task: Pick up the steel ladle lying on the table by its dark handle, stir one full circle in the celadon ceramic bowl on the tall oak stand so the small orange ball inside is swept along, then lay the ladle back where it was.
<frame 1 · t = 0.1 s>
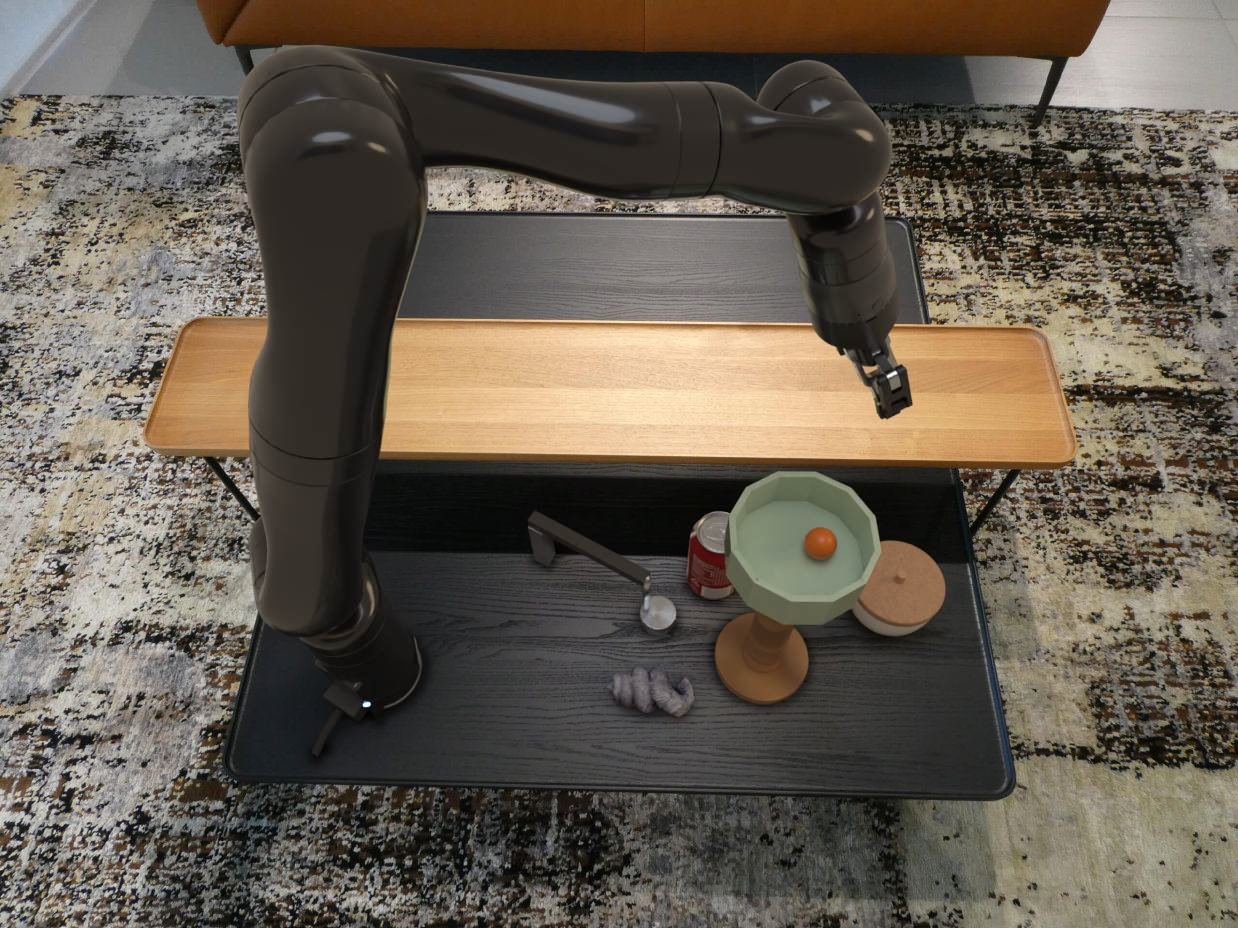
hand: (868, 380, 84), 31 cm above the table, tool tilted 20°, fingers open, 8 cm apart
stand: (760, 658, 101), on the table
trinket box: (881, 608, 104), on the table
soda can: (712, 578, 107), on the table
ladle: (657, 618, 104), on the table
ball: (820, 543, 78), point 28 cm above the table, touching bowl
seashell: (650, 697, 98), on the table
bowl: (795, 558, 79), resting on stand
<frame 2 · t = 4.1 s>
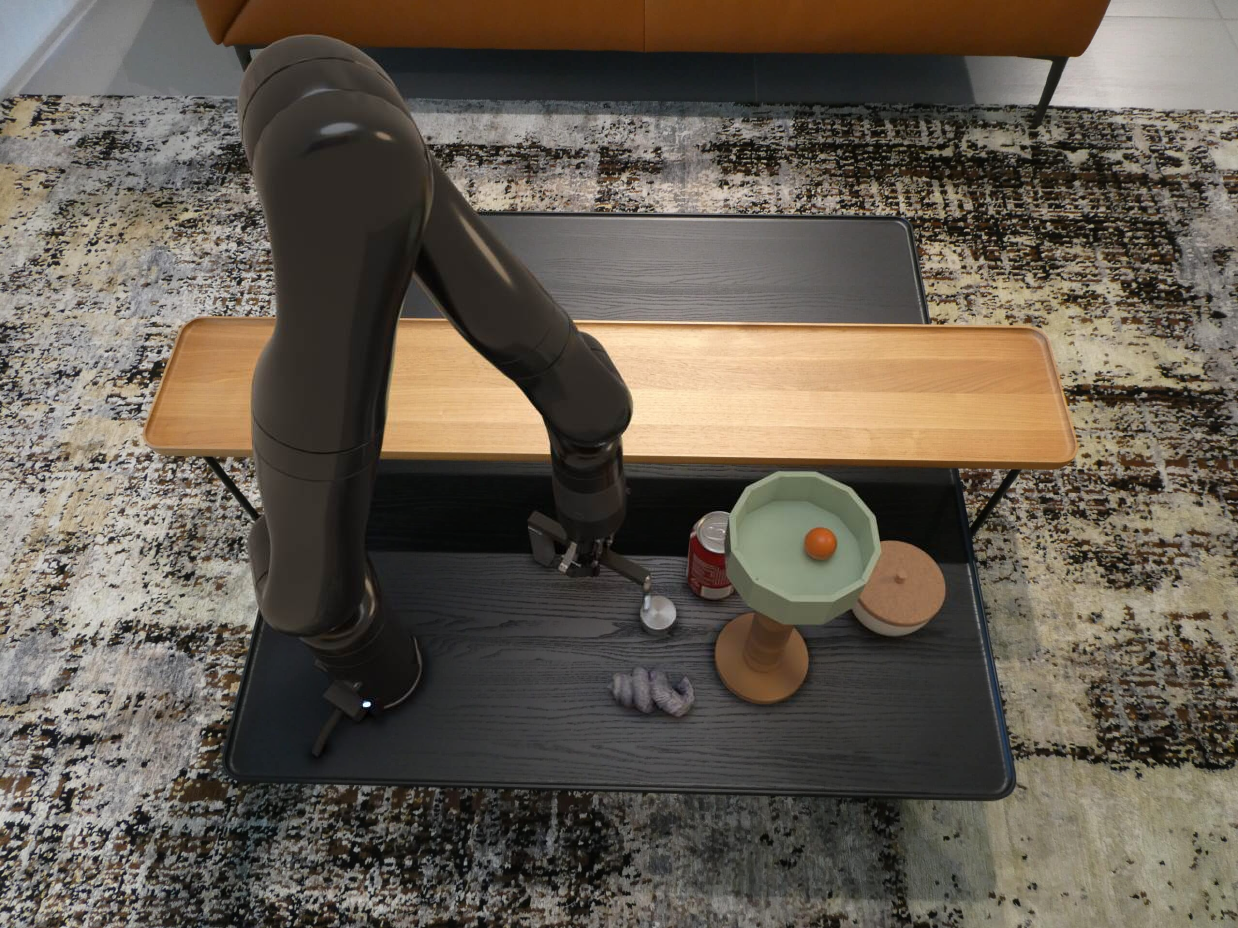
hand: (596, 564, 101), 6 cm above the table, tool pointing down, fingers closed on ladle
ladle: (657, 618, 104), on the table, touching gripper
everything else where it was.
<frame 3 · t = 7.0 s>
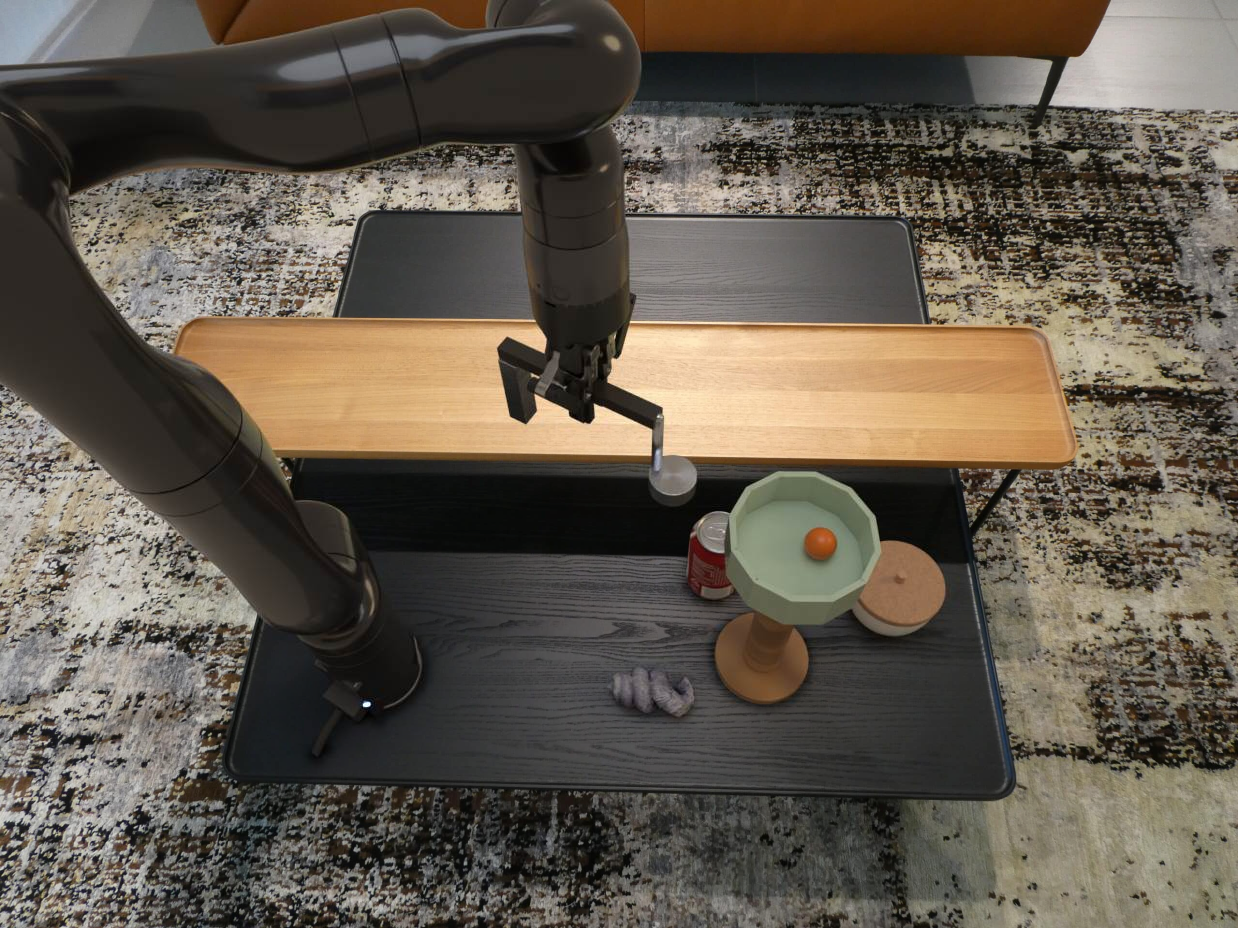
hand: (589, 409, 75), 37 cm above the table, tool pointing down, fingers closed on ladle
ladle: (672, 486, 78), point 31 cm above the table, touching gripper
everything else where it was.
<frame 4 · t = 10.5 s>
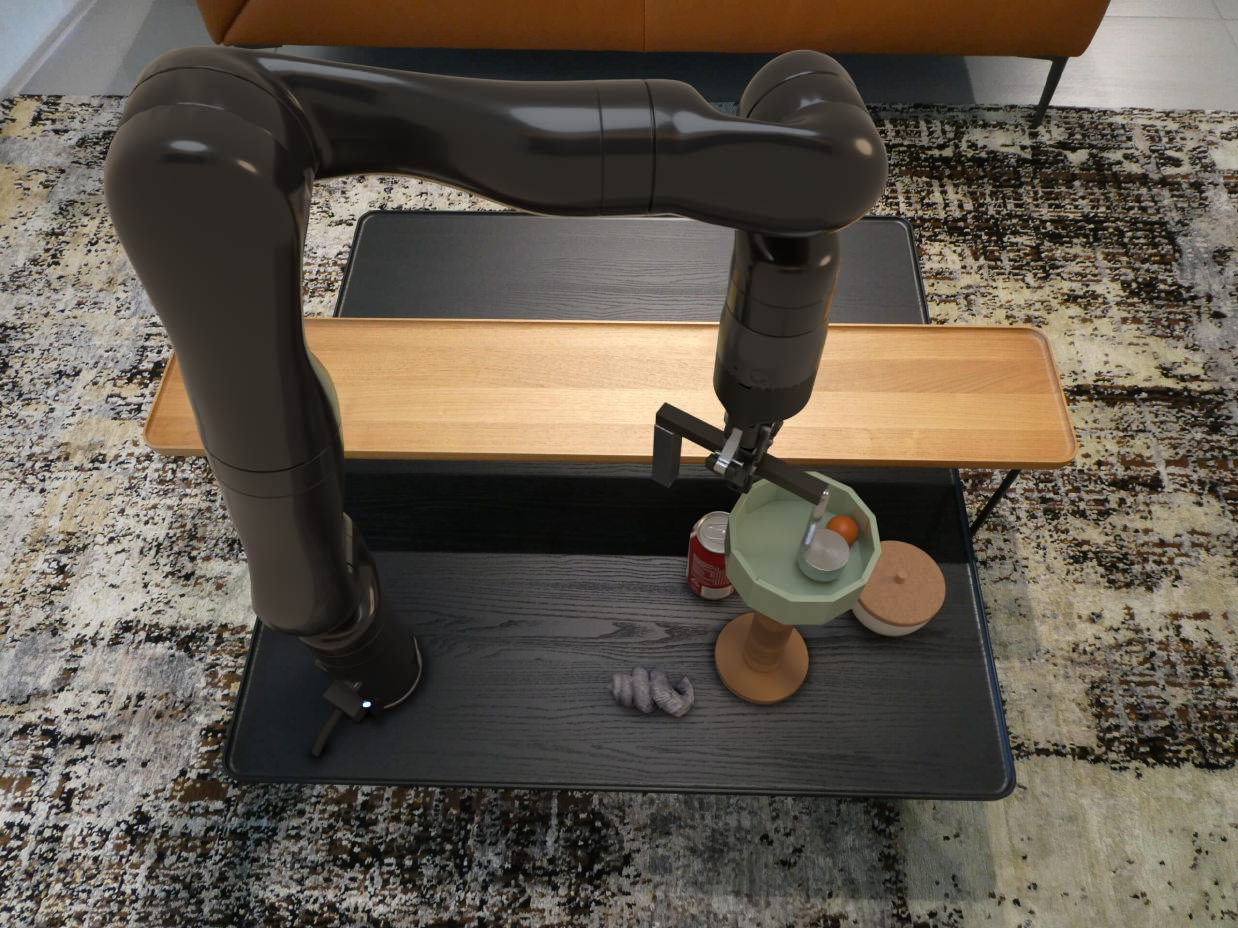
hand: (744, 478, 75), 34 cm above the table, tool pointing down, fingers closed on ladle
ladle: (820, 559, 77), point 28 cm above the table, touching ball, gripper
ball: (841, 531, 78), point 28 cm above the table, tilted 92°, touching bowl, ladle
everything else where it was.
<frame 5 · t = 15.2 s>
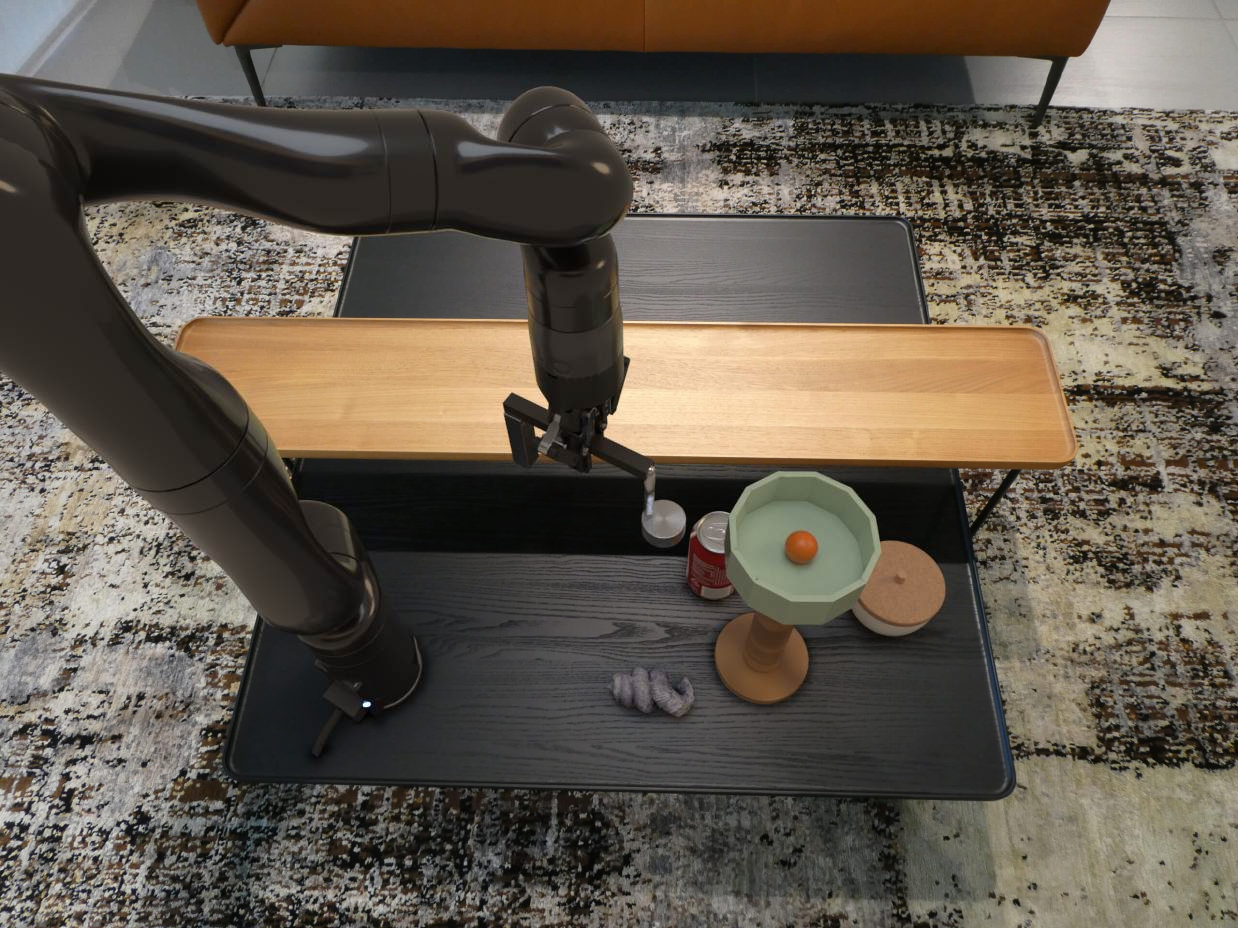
hand: (586, 459, 82), 29 cm above the table, tool pointing down, fingers closed on ladle
ladle: (663, 528, 85), point 23 cm above the table, touching gripper
ball: (801, 546, 77), point 28 cm above the table, tilted 74°, touching bowl
everything else where it was.
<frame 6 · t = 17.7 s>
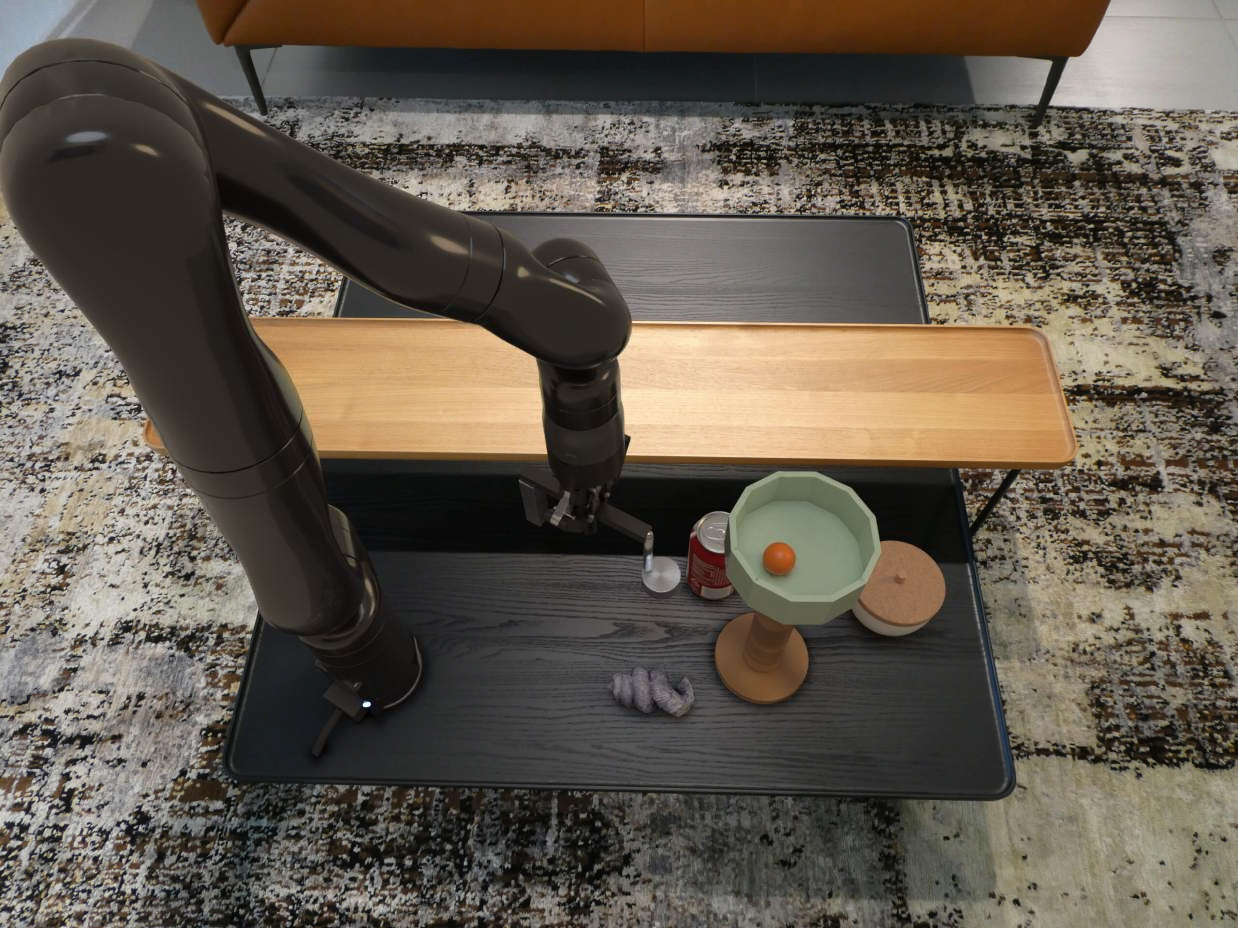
hand: (592, 521, 93), 16 cm above the table, tool pointing down, fingers closed on ladle
ladle: (660, 581, 95), point 10 cm above the table, touching gripper
ball: (779, 558, 77), point 28 cm above the table, tilted 156°, touching bowl
everything else where it was.
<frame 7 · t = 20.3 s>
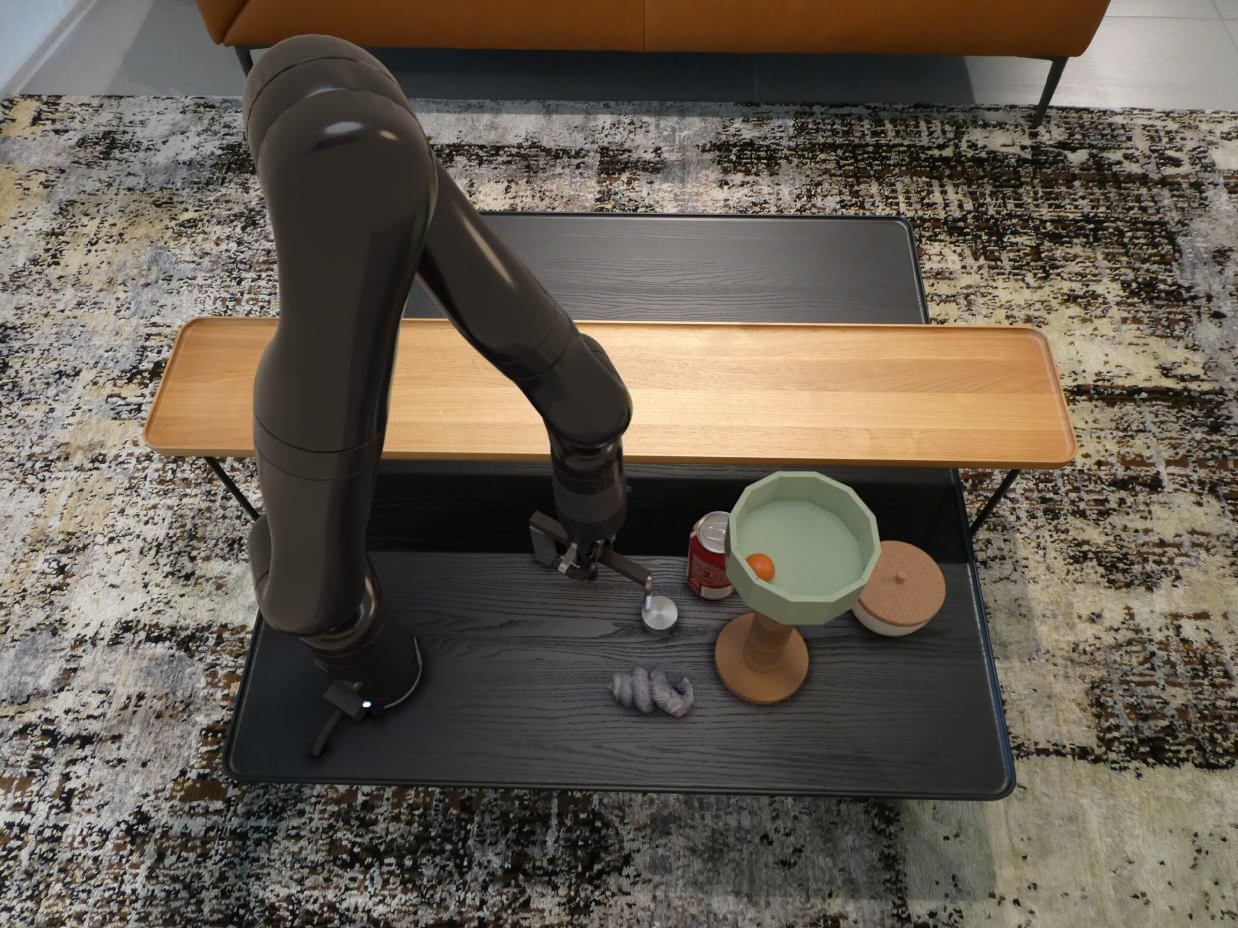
hand: (596, 564, 101), 6 cm above the table, tool pointing down, fingers open, 3 cm apart
ladle: (659, 618, 104), on the table
ball: (758, 569, 76), point 28 cm above the table, tilted 105°, touching bowl
everything else where it was.
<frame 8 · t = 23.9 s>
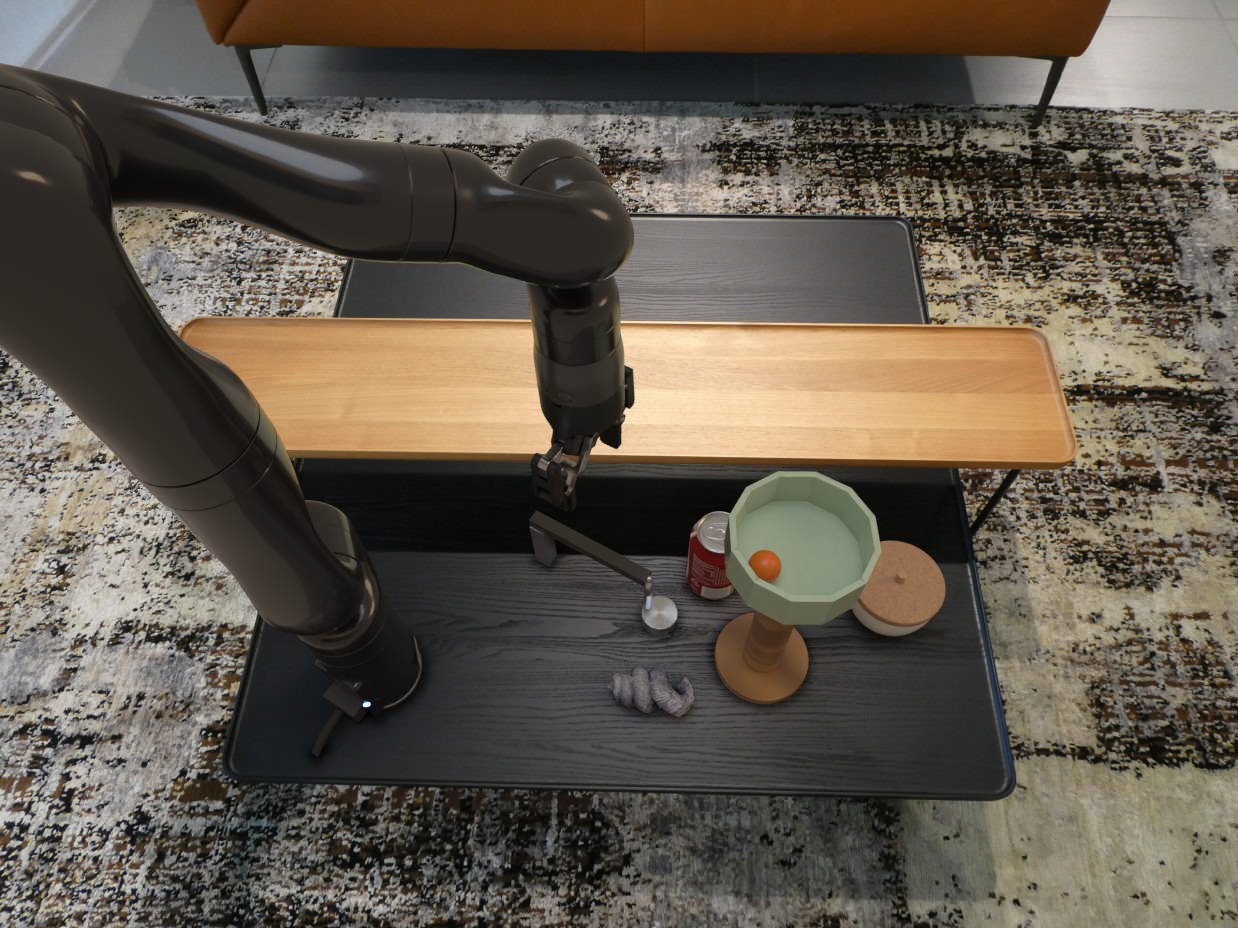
hand: (588, 473, 85), 26 cm above the table, tool pointing down, fingers open, 8 cm apart
ball: (764, 566, 76), point 28 cm above the table, tilted 129°, touching bowl
everything else where it was.
at the end: ball moved 5.8 cm from its start; ball inside the target area on the bowl (3.7 cm from its centre), point 2.1 cm above the bowl's base; ladle inside the target area (0.2 cm from its centre), on the table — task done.
